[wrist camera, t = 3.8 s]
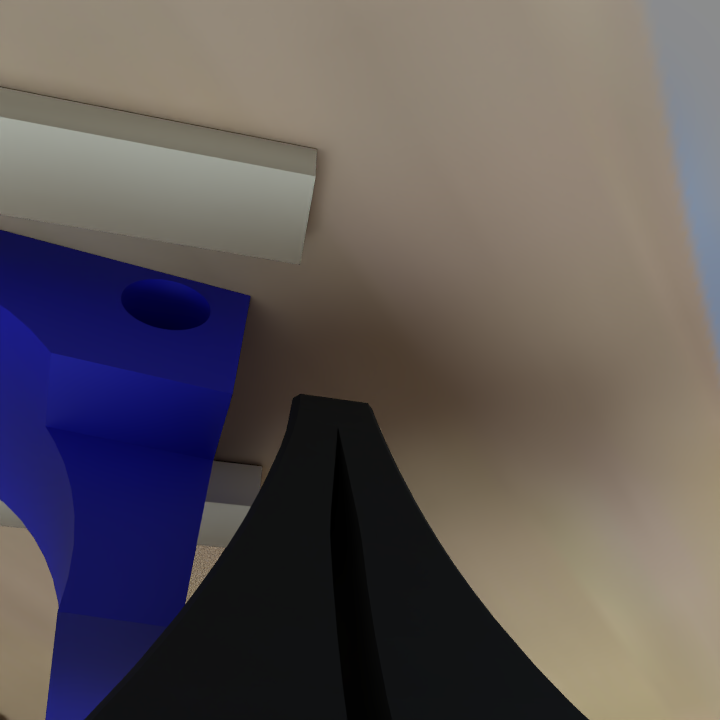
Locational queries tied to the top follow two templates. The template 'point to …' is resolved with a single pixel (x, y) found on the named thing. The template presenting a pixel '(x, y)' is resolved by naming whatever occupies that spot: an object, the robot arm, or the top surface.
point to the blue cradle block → (110, 444)
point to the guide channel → (158, 209)
